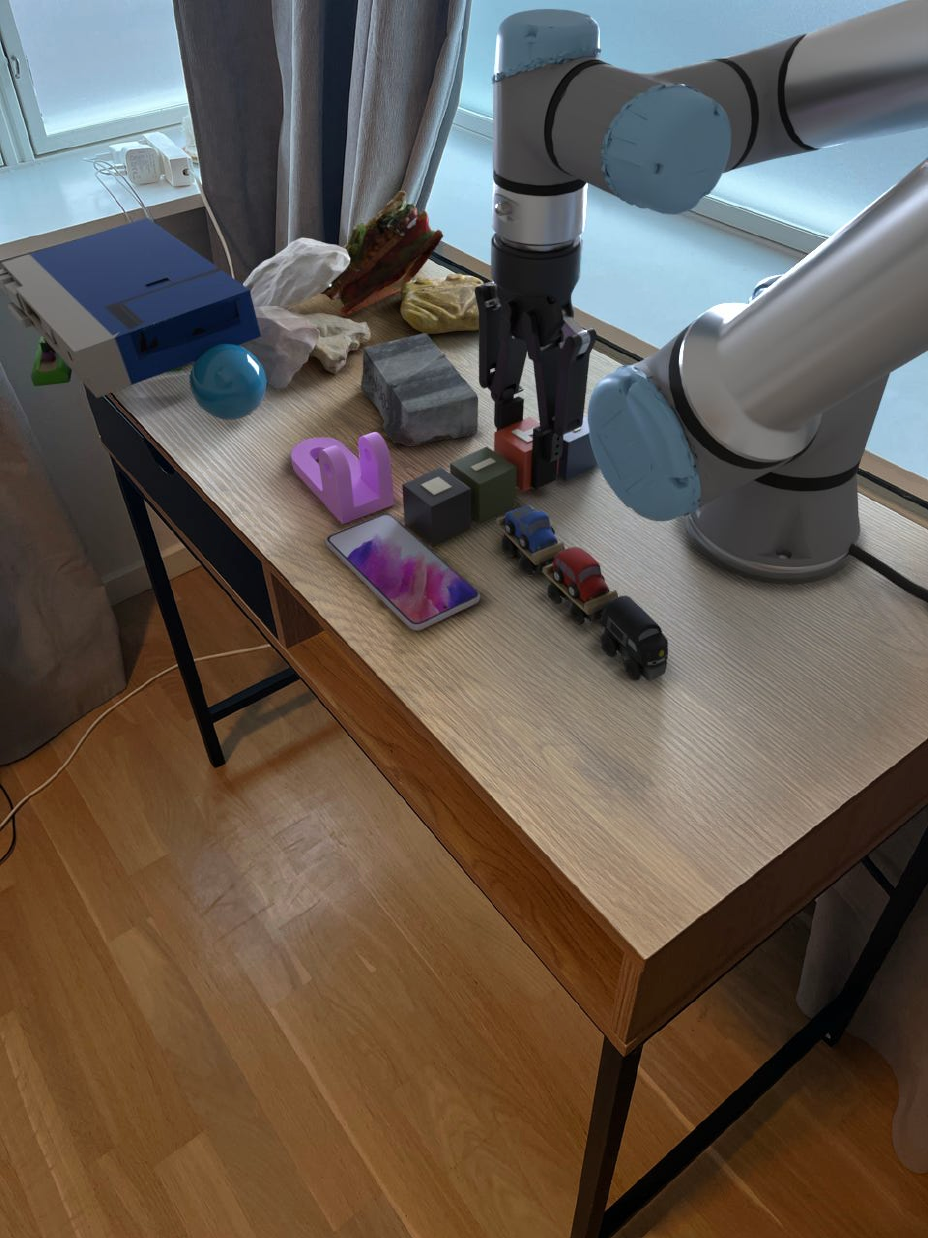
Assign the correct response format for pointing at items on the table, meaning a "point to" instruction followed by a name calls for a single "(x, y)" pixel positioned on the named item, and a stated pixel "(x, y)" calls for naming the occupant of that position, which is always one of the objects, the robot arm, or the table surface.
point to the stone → (335, 338)
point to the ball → (228, 381)
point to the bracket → (346, 474)
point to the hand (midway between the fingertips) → (525, 470)
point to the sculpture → (441, 304)
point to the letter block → (518, 449)
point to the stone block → (418, 391)
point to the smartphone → (402, 571)
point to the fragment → (296, 273)
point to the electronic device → (127, 304)
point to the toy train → (585, 592)
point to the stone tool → (281, 343)
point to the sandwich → (384, 255)
